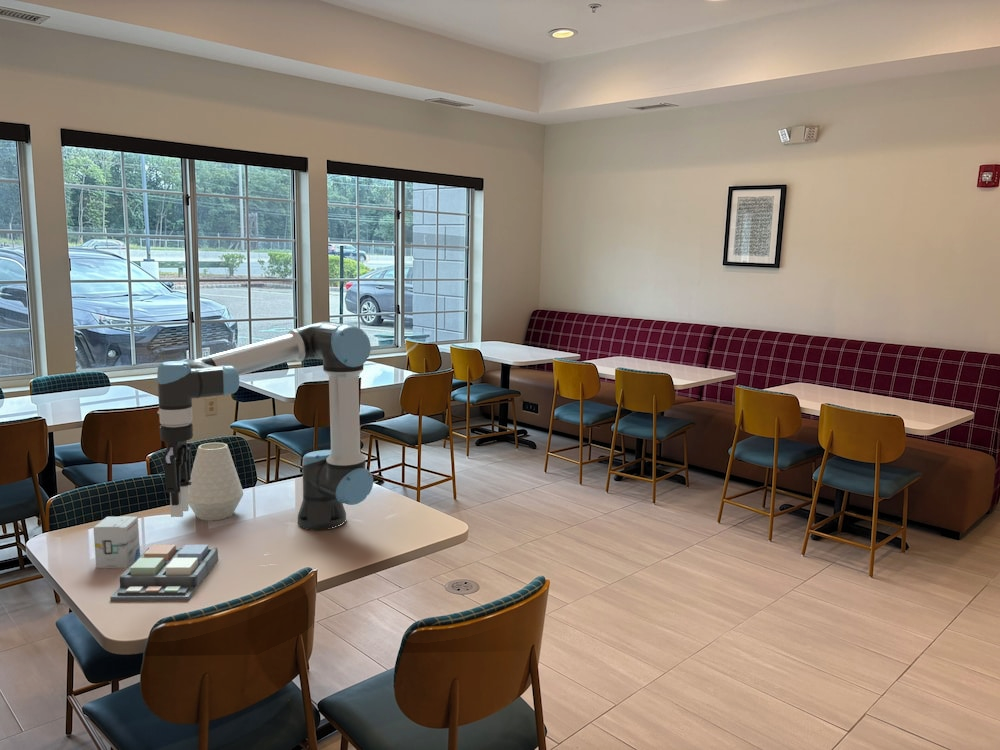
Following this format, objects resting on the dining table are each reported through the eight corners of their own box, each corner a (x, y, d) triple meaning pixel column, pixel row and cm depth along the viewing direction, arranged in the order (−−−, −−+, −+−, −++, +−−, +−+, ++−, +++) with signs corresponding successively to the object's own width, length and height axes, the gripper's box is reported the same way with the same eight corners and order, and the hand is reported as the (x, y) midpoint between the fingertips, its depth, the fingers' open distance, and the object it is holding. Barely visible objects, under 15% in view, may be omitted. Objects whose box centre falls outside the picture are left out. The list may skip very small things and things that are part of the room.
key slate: (208, 553, 199) (208, 544, 198) (201, 562, 193) (201, 553, 192) (185, 553, 198) (185, 544, 198) (178, 562, 192) (177, 553, 192)
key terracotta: (176, 553, 198) (175, 544, 198) (167, 562, 192) (167, 553, 192) (153, 553, 198) (152, 544, 197) (144, 562, 192) (143, 553, 191)
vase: (209, 503, 245) (207, 436, 242) (254, 509, 241) (253, 442, 237) (173, 520, 229) (170, 449, 225) (221, 527, 224) (219, 455, 221)
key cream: (198, 566, 190) (197, 557, 190) (190, 576, 184) (189, 567, 184) (174, 566, 190) (174, 557, 189) (165, 576, 184) (165, 567, 183)
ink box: (109, 555, 202) (106, 515, 200) (141, 555, 203) (138, 515, 201) (95, 568, 194) (92, 526, 192) (128, 568, 194) (125, 527, 192)
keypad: (218, 559, 201) (217, 547, 201) (188, 600, 178) (188, 586, 177) (149, 559, 200) (148, 547, 199) (110, 601, 176) (109, 587, 176)
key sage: (164, 566, 190) (163, 557, 189) (155, 576, 184) (154, 567, 183) (140, 566, 189) (139, 557, 189) (130, 576, 183) (130, 567, 183)
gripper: (172, 416, 188) (176, 502, 192) (147, 431, 172) (151, 525, 176) (202, 416, 189) (205, 502, 193) (180, 431, 173) (183, 525, 177)
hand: (179, 513), depth 184 cm, fingers open, 3 cm apart
